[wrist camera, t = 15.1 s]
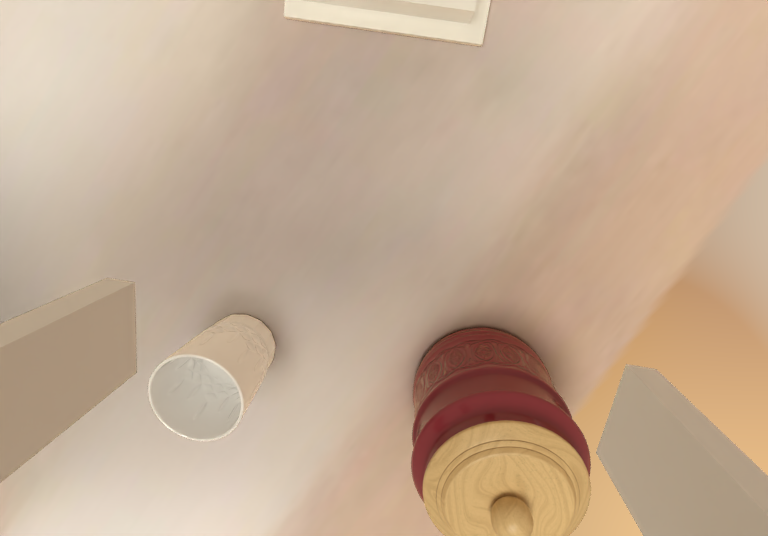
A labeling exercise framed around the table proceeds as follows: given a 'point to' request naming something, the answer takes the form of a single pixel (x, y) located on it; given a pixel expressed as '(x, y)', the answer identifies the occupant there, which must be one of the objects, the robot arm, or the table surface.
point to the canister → (495, 441)
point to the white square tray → (400, 17)
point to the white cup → (212, 378)
